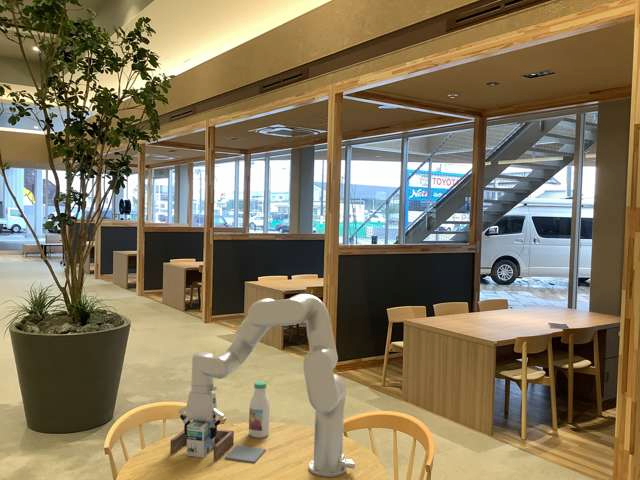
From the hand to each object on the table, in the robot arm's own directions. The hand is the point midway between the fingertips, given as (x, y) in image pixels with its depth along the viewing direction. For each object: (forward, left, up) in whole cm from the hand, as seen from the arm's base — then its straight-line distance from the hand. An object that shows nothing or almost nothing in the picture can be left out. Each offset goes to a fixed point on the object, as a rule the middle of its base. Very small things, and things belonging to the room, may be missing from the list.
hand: (200, 435), depth 207 cm
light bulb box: (0, 0, -6) cm, 6 cm away
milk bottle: (-14, -21, -6) cm, 26 cm away
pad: (-16, -2, -5) cm, 17 cm away
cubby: (0, -1, -5) cm, 6 cm away
